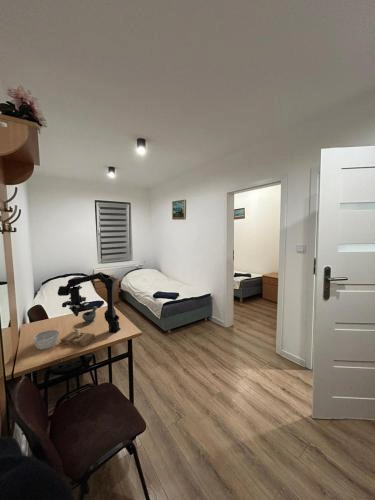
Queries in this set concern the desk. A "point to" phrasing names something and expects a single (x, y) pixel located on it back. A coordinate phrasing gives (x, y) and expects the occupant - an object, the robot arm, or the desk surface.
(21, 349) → the desk surface
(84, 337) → the board
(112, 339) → the desk surface
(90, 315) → the mortar and pestle
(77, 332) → the peg
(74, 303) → the robot arm
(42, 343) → the ramekin
